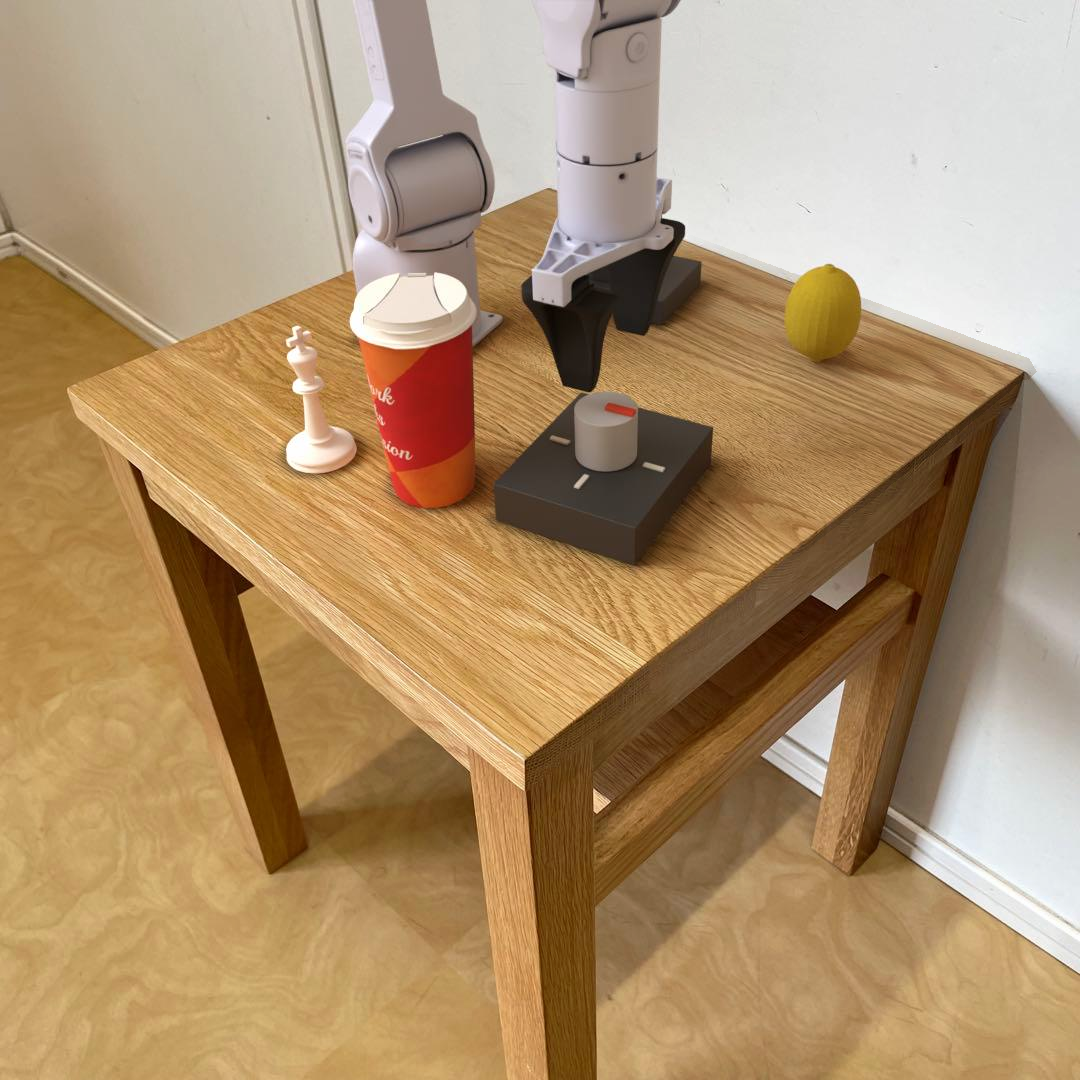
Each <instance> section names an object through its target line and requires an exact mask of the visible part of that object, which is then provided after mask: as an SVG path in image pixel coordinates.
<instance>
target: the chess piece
mask: <svg viewBox="0 0 1080 1080" xmlns="http://www.w3.org/2000/svg"><path fill="white" fill-rule="evenodd" d="M291 329H292V334H293V336H291V337H289V338H286V339H285V343H286V347H288V348H290V349H291V350H290V351H288V353H287V355H286V359H287V361H288V363H289V365H290V366H291V367H292V369H293V371H294V373H295V376H297V379H295V380H294V381H293V383H292V391H293V392H294V393H295V394H297V395H300V396H302V399H303V413H304V430H302V431H301V432H299V433H297V434H296V435H294V436H293V437H292V438H291V439H290V440H289V441H288V443H287V444H286V450H285V451H286V452H285V453H286V461H287V463H288V465H289V466H290V467H291V468H293V469H294V470H295V471H297V472H301V473H304V474H305V473H306V474H324V473H325V474H326V473H330V472H333V471H336V470H339V469H341V468H342V467H344V466H346V465H348V464H349V463H350V462H351V461H353V459H354V458H355V456H356V454H357V450H358V448H357V444H356V442H355V439H354V436H353V435H352V433H350V432H349V431H348V430H346V429H344V428H341V427H338V426H332V425H329V423H328V421H327V419H326V415H325V412H324V410H323V406H322V403H321V400H320V397H319V394H318V393H319V392H320V391H322V390H323V389H324V387H325V382H324V381H323V380H324V379H322V377H320V376H318V375H315V374H316V367H317V362H318V354H319V353H318V351H317V350H316V349H315V348H314V347H311V346H307V345H306V344H305V342H307V341H310V340H312V339H313V335H312V332H310V331H309V330H305V331H303V329H302V327H301V326H299V325H295V326H293V327H291Z"/></svg>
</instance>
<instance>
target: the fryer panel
mask: <svg viewBox="0 0 1080 1080" xmlns="http://www.w3.org/2000/svg"><path fill="white" fill-rule="evenodd" d="M589 394H590V393H587V392H583V391H581V392H580V393H579V394H578V395H577V396H576V397H575V398H573V400H572V401H571V402H570V403H569V404H568V405H567V407H565V408H564V409H563V411H562V412H561V413H559V415H558V416H557V417H555V418H554V420H552V422H551V423H550V424H549V425H548V426H547V427H546V428H545V429H544V430H543V431H542V432H541V433H540V434H539V435H538V436H537V437H536V438H535V439H534V441H532V442H531V444H530V445H529V446H528V447H527V448H526V449H525V450H524V451H523V452H522V453H521V454H520V455H519V456H518V457H517V458H516V459H515V460H514V461H513V462H512V463H511V465H509V466H508V467H507V468H506V469H505V470H504V472H502V474H501V475H500V476H499V477H498V478H497V479H496V480H495V481H494V482H493V483H492V490H493V491H492V492H493V501H494V513H495V521H497V522H500V523H503V524H506V525H509V526H511V527H515V528H518V529H521V530H524V531H527V532H531V533H534V534H536V535H539V536H543V537H546V538H548V539H552V540H556V541H558V542H561V543H564V544H567V545H570V546H573V547H576V548H579V549H583V550H585V551H589V552H591V553H594V554H598V555H601V556H604V557H607V558H610V559H613V560H616V561H619V562H621V563H625V564H629V565H631V566H636V565H637V563H638V562H639V561H640V560H641V558H642V557H643V555H644V554H645V553H646V551H647V550H648V549H649V547H650V546H651V544H652V543H653V542H654V541H655V540H656V538H657V537H658V535H659V534H660V533H661V531H662V530H663V529H664V527H665V526H666V524H667V523H668V522H669V521H670V520H671V518H672V516H673V515H674V513H675V512H676V511H677V510H678V508H679V507H680V505H682V503H683V501H684V500H685V499H686V498H687V496H688V495H689V493H690V492H692V490H693V488H694V487H695V485H696V484H697V483H698V481H699V480H700V479H701V477H702V476H703V474H704V473H705V472H706V471H707V469H708V468H709V466H711V463H712V453H713V437H714V427H713V426H711V425H707V424H703V423H700V422H697V421H692V420H688V419H684V418H680V417H676V416H672V415H669V414H665V413H661V412H658V411H654V410H650V409H646V408H643V407H638V406H637V407H638V431H637V457H636V459H635V460H634V462H633V463H632V464H631V465H629V466H628V467H626V468H623V469H621V470H617V471H610V472H602V471H595V470H591V469H589V468H586V467H584V466H583V465H581V464H580V463H579V462H578V460H577V458H576V455H575V420H574V408H575V405H576V403H577V402H578V401H579V400H580V399H581V398H583V397H584V396H587V395H589Z"/></svg>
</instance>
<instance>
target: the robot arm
mask: <svg viewBox="0 0 1080 1080" xmlns="http://www.w3.org/2000/svg"><path fill="white" fill-rule="evenodd" d="M681 1H682V0H531V2H532V5H533V8H534V11H535V13H536V15H537V18H538V21H539V23H540V27H541V28H540V29H541V34H542V51H543V53H542V54H543V55H544V56H545V60H546V65H547V66H548V67H550V68H551V69H553V77H554V79H553V80H554V81H553V82H554V109H555V110H554V113H555V114H554V115H555V116H554V117H555V120H554V121H555V157H556V158H555V159H556V160H555V161H556V190H557V191H556V192H557V193H556V195H557V196H556V197H557V217H556V219H555V221H554V224H553V226H552V229H551V232H550V234H549V238H548V240H547V243H546V246H545V249H544V252H543V255H542V257H541V259H540V261H539V262H537V264H536V265H535V266H533V268H532V269H531V275H530V276H529V277H527V279H525V280H524V281H522V283H521V285H520V290H521V302H522V303H523V304H524V306H525V307H526V308H527V310H529V312H530V313H531V314H532V316H533V317H534V319H535V320H536V322H537V323H538V325H539V326H540V329H541V331H542V333H543V334H544V336H545V338H546V340H547V343H548V346H549V349H550V352H551V354H552V357H553V360H554V363H555V366H556V370H557V372H558V373H557V374H558V376H559V379H560V381H561V385H562V387H566V388H570V389H572V390H573V389H574V390H577V391H581V392H583V393H587V394H591V393H593V391H594V390H595V389H596V387H597V384H598V381H599V378H600V373H601V366H602V359H603V350H604V349H603V348H604V343H605V337H606V333H607V330H608V326H609V324H610V320H611V317H612V318H613V322H614V325H615V329H616V330H617V331H620V332H624V333H629V334H633V335H638V336H641V337H645V336H646V334H648V333H649V330H650V327H651V324H652V323H651V322H652V318H653V315H654V311H655V307H656V303H657V300H658V296H659V293H660V289H661V285H662V282H663V279H664V277H665V274H666V271H667V269H668V266H669V264H670V262H671V260H672V258H673V256H675V254H676V252H677V250H678V248H679V246H680V245H681V243H682V241H683V240H684V238H685V236H686V225H685V224H684V223H683V222H681V221H678V220H675V219H670V218H665V217H664V218H663V215H666V214H667V213H668V212H669V211H670V210H672V197H673V196H672V194H673V193H672V192H673V180H672V179H668V178H663V177H658V145H659V144H658V143H659V142H658V141H659V116H660V115H659V114H660V84H661V81H660V80H661V59H662V58H661V56H662V54H661V53H662V52H661V51H662V20H663V19H662V18H665V17H667V16H669V15H670V14H672V13H673V12H674V11H675V10H676V9H677V7H678V6H679V4H680V3H681ZM427 3H428V2H427V0H352V4H353V9H354V14H355V19H356V24H357V28H358V34H359V38H360V43H361V48H362V52H363V57H364V61H365V67H366V71H367V76H368V80H369V85H370V90H371V95H372V100H373V101H372V103H371V105H370V106H369V108H368V109H367V110H366V111H365V113H364V114H363V116H362V117H361V118H360V119H359V121H358V122H357V123H356V124H355V126H354V127H353V128H352V129H351V131H350V132H349V133H348V135H347V136H346V138H345V140H344V144H345V153H346V158H347V166H348V168H347V169H348V178H347V187H348V195H349V199H350V203H351V206H352V209H353V212H354V214H355V217H356V220H357V221H358V223H359V224H360V226H361V230H360V232H359V233H358V235H357V237H356V240H355V242H354V245H353V250H352V251H353V252H352V270H353V271H352V272H353V277H354V283H355V289H356V296H357V295H358V293H359V292H360V291H361V289H363V288H364V287H365V286H366V285H368V284H370V283H371V282H373V281H375V280H377V279H380V278H383V277H385V276H389V275H393V274H397V273H400V276H408V273H426V276H429V275H433V279H434V273H435V272H436V273H441V274H445V275H448V276H451V277H453V278H455V279H457V280H459V281H460V282H461V283H462V284H463V285H464V286H465V288H466V289H467V292H468V295H469V297H470V298H471V300H472V301H473V303H474V304H475V306H476V310H477V315H476V318H475V320H474V322H473V324H472V343H473V347H475V346H476V345H477V344H479V343H480V342H481V341H482V340H483V339H484V338H486V336H488V335H489V334H490V333H491V332H492V331H493V330H495V328H497V327H498V326H499V325H500V324H502V322H503V315H501V314H498V313H494V312H489V311H485V310H481V302H480V301H481V299H480V289H479V276H478V264H477V263H478V262H477V253H476V252H477V250H476V239H475V230H476V229H479V228H481V227H482V226H483V222H482V213H485V212H487V211H488V209H489V208H490V207H491V205H492V202H493V198H494V195H495V188H496V178H495V172H494V167H493V163H492V160H491V157H490V155H489V153H488V151H487V149H486V147H485V144H484V141H483V138H482V134H481V131H480V127H479V123H478V118H477V116H476V114H474V113H473V112H472V111H471V110H469V109H468V108H467V107H465V106H464V105H462V104H460V103H458V102H456V101H454V100H453V99H451V98H449V97H448V96H447V95H445V94H444V92H443V85H442V81H441V76H440V70H439V65H438V59H437V54H436V48H435V43H434V37H433V31H432V25H431V20H430V14H429V9H428V4H427ZM604 266H607V270H608V275H609V281H610V290H611V294H609V293H605V292H600V291H596V290H594V284H591V285H590V284H589V276H588V275H587V274H588V273H590V272H592V271H595V270H597V269H599V268H602V267H604ZM612 313H613V314H612ZM356 337H357V339H358V336H357V335H356Z"/></svg>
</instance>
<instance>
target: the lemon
mask: <svg viewBox="0 0 1080 1080" xmlns="http://www.w3.org/2000/svg"><path fill="white" fill-rule="evenodd" d="M861 298H862V297H861V293H860V290H859V287H858V285H857V283H856V281H855V280H854V278H853V277H852V276H851V275H850V274H849V273H848V272H846V271H844V270H843V269H841V268H839V267H836V266H835V265H834V264H832V263H825V264H824V265H822V266H817V267H814V268H811V269H809V270H807V271H806V272H805V273H804V274H802V275H800V277H798V279H797V280H796V281H795V283H794V285H793V287H792V288H791V290H790V292H789V295H788V297H787V301H786V305H785V307H784V330H785V334H786V337H787V339H788V341H789V343H790V344H791V346H792V347H793V348H794V349H795V351H797V352H798V353H799V354H801V355H803V356H804V357H806V358H809V359H810V360H811V361H812V362H815V363H819V362H821V361H823V360H826V359H830V358H833V357H836V356H838V355H839V354H841V353H842V352H844V351H845V350H846V349H847V348H848V347H849V346H850V345H851V343H852V342H853V340H854V339H855V337H856V335H857V333H858V331H859V327H860V324H861V316H862V299H861Z"/></svg>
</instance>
